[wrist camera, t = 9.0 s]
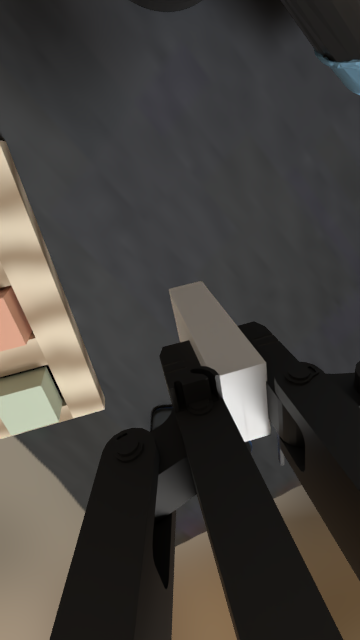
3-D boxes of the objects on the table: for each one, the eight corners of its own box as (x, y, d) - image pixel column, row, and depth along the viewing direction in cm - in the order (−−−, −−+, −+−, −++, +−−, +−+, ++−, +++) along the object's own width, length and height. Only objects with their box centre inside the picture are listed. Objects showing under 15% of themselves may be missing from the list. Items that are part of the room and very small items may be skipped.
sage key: (-2, 379, 41) (-11, 399, 38) (46, 366, 42) (40, 385, 38) (18, 413, 44) (11, 435, 40) (62, 401, 44) (59, 421, 41)
